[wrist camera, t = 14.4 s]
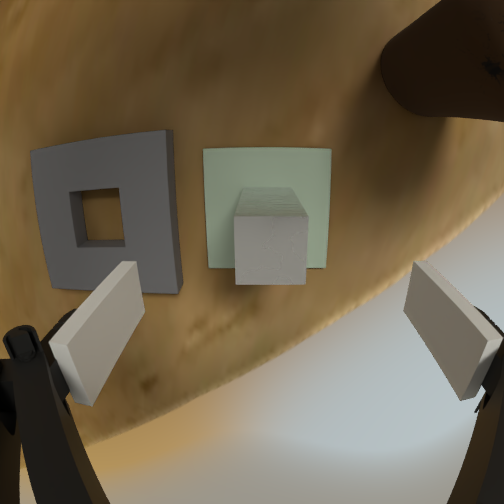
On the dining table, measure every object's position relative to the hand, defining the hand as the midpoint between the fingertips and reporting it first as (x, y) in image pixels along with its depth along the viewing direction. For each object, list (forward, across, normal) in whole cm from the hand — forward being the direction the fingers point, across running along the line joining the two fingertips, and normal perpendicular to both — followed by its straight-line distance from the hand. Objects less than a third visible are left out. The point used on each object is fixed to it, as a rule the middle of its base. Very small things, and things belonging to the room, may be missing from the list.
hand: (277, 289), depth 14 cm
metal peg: (+17, 0, -1) cm, 17 cm away
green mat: (+18, 0, -1) cm, 18 cm away
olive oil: (+18, +16, +14) cm, 28 cm away
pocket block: (+18, -17, -1) cm, 25 cm away
